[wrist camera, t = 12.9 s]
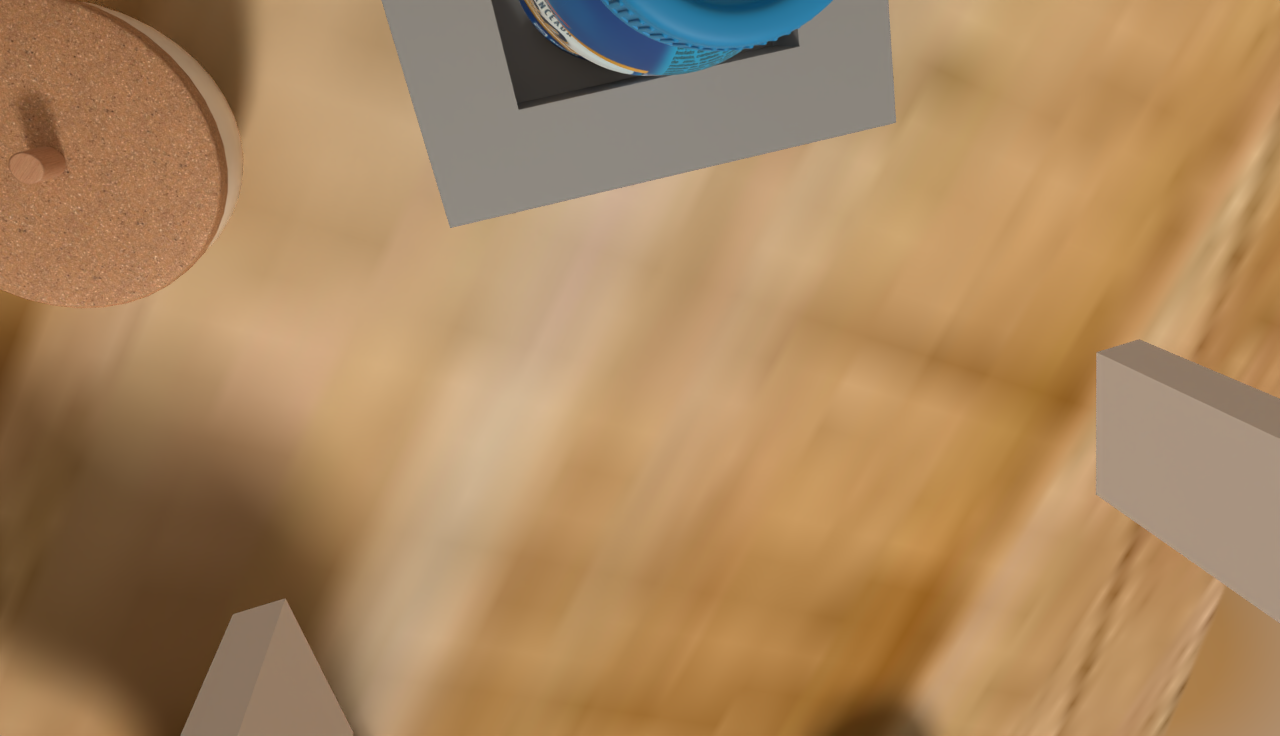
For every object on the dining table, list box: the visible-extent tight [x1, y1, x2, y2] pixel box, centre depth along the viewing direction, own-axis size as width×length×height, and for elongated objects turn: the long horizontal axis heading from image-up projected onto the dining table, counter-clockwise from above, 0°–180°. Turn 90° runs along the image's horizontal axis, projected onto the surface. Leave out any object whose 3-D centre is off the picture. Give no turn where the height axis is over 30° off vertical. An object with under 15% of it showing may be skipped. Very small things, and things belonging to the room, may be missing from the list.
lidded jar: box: [0, 0, 243, 308], centre depth 30 cm, size 11×11×9 cm
